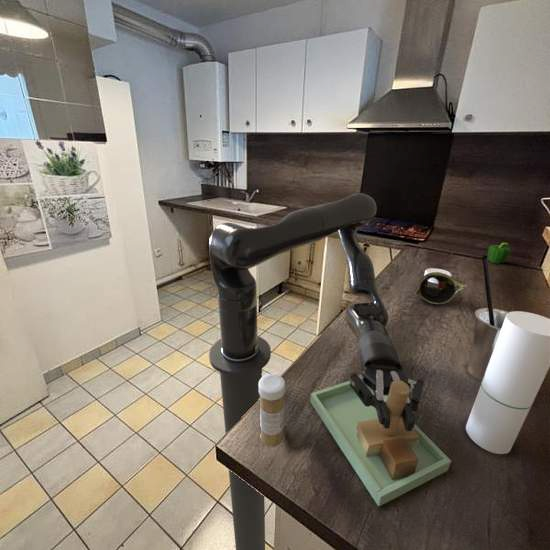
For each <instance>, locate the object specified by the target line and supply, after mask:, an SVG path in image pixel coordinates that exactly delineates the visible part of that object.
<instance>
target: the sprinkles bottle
mask: <svg viewBox="0 0 550 550" xmlns="http://www.w3.org/2000/svg"><path fill="white" fill-rule="evenodd" d="M285 393H286V382H285V379H284V377H282V376H281V375H279V374H277V373H267V374H264V375H262V378H261V379H260V380H259V394H260V427H261V433H260V439H261V441H262V443H263V446H266V447H268V448H276V447H278V446H280V445H281V444H282V443H283V441H284V439H285V434H284V427H285Z"/></svg>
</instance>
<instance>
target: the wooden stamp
mask: <svg viewBox="0 0 550 550" xmlns="http://www.w3.org/2000/svg"><path fill="white" fill-rule="evenodd" d="M410 393H411V391H410V388H409V386H408V385H407V384H406V383H405V382H403V381H400V380H395V381H393V382H392V383H391V387H390V390H389V394H388V395H387V396H388V397H387V401H386V404H387V408H388V411H389V415H390V420H391V422H390V427H389V429H387V428H384V426H383V424H380V422H379V420H378V419H375V420H369V421H362V422H358V423H357V427H356V428H357V430H358V431H357V437H358V439H359V442H360V444H361V446H362V448H363V450H364V453H365V455H366V456H369V455H375V454H380V452H381V448H382V443H383V441H385V440H391V439H396V438H402V437H404V438H405V439H406V441H407V442H408V444H409V445H410V447H411V448H412V447H413V445H414V443H415V442H417V440H418V438H419V436H418V434H417V433H416V431H415V430H414V428H412V431H406V429H405V426H404V423H403V420H402V413H403V410H404V407H405V404H406V401H407V398H409V395H410Z"/></svg>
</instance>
